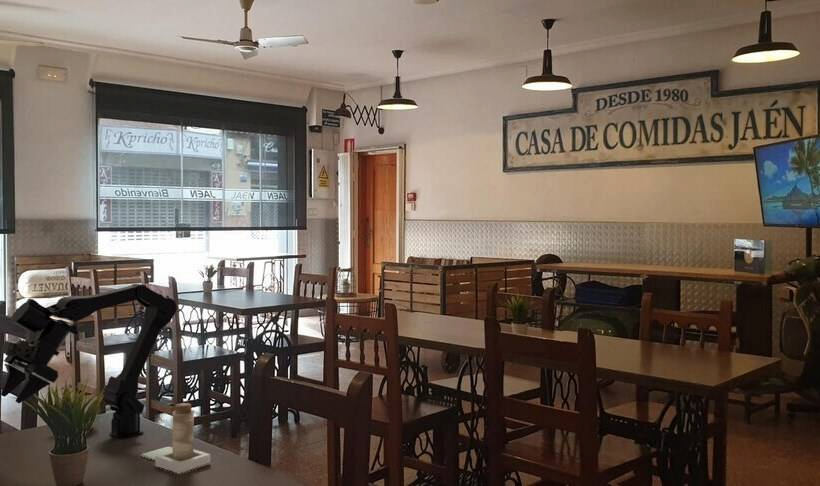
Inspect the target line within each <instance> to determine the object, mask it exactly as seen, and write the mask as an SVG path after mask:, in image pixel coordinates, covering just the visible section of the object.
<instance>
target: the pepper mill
mask: <svg viewBox="0 0 820 486" xmlns="http://www.w3.org/2000/svg"><path fill="white" fill-rule="evenodd" d="M174 409H175V410H174V411H172V446H171V447H172V459H174V460H177V461H183V460H187V459H190V458H193V449H194V439H195V438H194V433H195V432H194V427H195V425H194V424H195V423H194V422H195V419H194V417H195V412H194V410H193V409H192V404H191V403H187V402H182V403H178V404H177V403H176V404H175V408H174Z"/></svg>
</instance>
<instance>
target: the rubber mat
mask: <svg viewBox="0 0 820 486" xmlns="http://www.w3.org/2000/svg"><path fill="white" fill-rule="evenodd" d="M171 451H172V446H166V447H165V446H164V447H162V448H158V449H155V450H152V451H151V450H150V451H148V452H144V453H141V454H140V457H141V456H142V457H141V458H144V457H145V458H144V459H147V458H148V459H147V460H150V459H152V460H151V461H153V460H155V456H157V455H161V454H164V453H168V452H171Z"/></svg>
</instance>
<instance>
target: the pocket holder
mask: <svg viewBox="0 0 820 486" xmlns="http://www.w3.org/2000/svg"><path fill="white" fill-rule="evenodd" d="M209 462H210V463H211V454H210V453H208V452H204V451H201V450H197V449H195V448H193V458H190V459H187V460H183V461H177V460H174V459H172V451H171V452H168V453H164V454H161V455H157V456H155V461H154V466H158V467H161V468H165V469H169V470H172V471H174V472H177V473H180V472H183V471H186V470H189V469H192V468H195V467H197V466H200V465H203V464H206V463H209ZM158 467H157V468H158ZM161 468H160V469H161Z"/></svg>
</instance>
